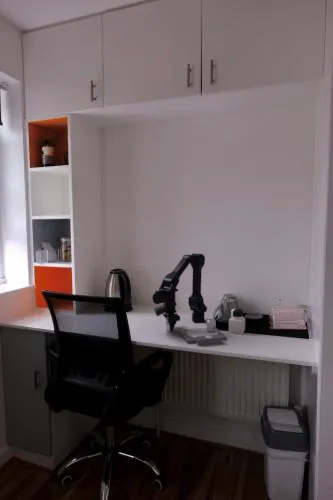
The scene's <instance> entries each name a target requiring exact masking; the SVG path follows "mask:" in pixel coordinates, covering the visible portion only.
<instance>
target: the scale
mask: <svg viewBox="0 0 333 500" xmlns="http://www.w3.org/2000/svg"><path fill="white" fill-rule="evenodd" d="M178 333H179V334H180V336H181V337H182V339H183V340H184V341H185V342H186V343H187V344H196V345H197V346H198V347H203V345H204V346H210V345H211V346H213V345H212V344H214V345H221V344H222V345H223V341H227V340H228V338H227V336H226V335H225V334H224V333H223V332H221V331H220V329H218V328H217V327H216V332H215V333H208V332H207V326H206V327H203V326H199V327H197V326H196V327H192V328H187V329H179V330H178Z"/></svg>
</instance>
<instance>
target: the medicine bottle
mask: <svg viewBox="0 0 333 500" xmlns="http://www.w3.org/2000/svg"><path fill="white" fill-rule="evenodd" d="M230 311H231V312H230V315H231V316H230V318H229V320H228V333H230V334H235V335H243V333H244V332H245V330H246V317H244V310H243V309H241V308H233V309H231V310H230Z"/></svg>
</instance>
